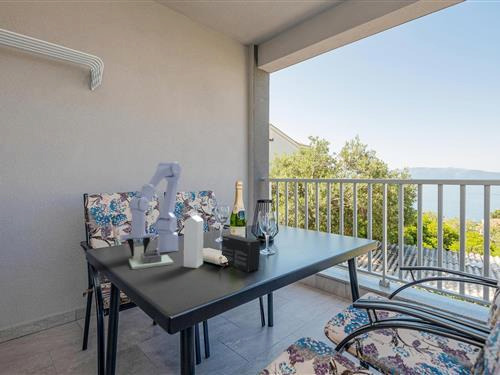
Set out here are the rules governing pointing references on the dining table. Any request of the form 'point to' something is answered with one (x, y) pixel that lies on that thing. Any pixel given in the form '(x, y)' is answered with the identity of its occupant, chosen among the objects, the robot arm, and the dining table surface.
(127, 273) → the dining table surface
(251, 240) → the box
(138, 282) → the dining table surface
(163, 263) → the board
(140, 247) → the plug
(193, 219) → the milk
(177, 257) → the dining table surface
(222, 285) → the dining table surface
